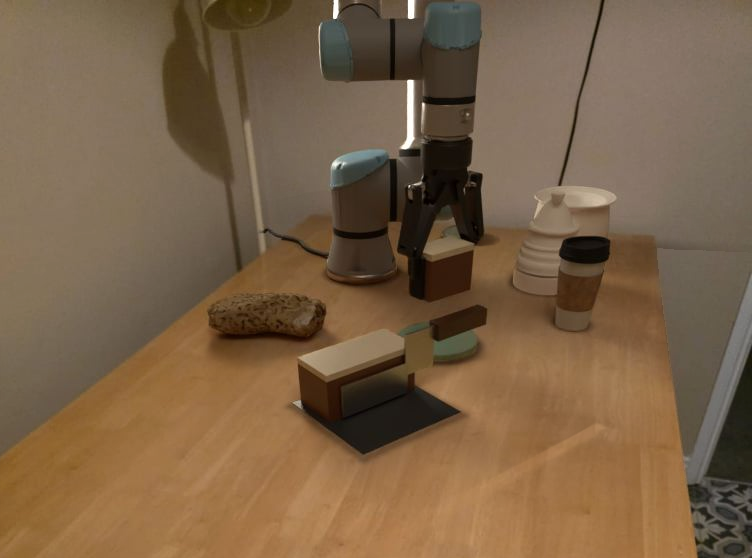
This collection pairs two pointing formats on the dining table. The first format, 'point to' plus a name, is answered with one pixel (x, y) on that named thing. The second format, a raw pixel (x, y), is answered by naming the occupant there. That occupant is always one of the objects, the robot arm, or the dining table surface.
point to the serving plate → (448, 343)
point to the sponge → (267, 314)
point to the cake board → (387, 420)
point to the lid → (450, 232)
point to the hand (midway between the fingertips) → (439, 290)
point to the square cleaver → (408, 360)
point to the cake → (346, 369)
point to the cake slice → (447, 268)
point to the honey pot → (544, 247)
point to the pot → (583, 207)
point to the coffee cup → (579, 279)
